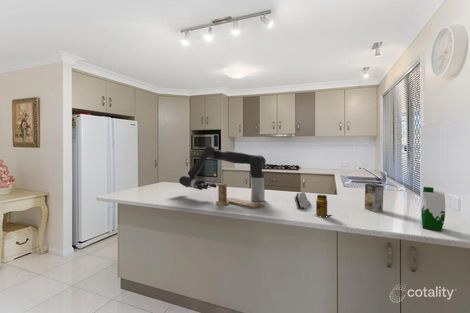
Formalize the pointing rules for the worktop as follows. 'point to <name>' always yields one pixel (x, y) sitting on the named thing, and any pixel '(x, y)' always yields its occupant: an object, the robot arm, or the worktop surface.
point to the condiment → (321, 205)
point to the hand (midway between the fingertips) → (211, 187)
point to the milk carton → (433, 209)
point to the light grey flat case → (301, 200)
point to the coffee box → (374, 197)
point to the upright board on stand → (222, 195)
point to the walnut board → (244, 203)
